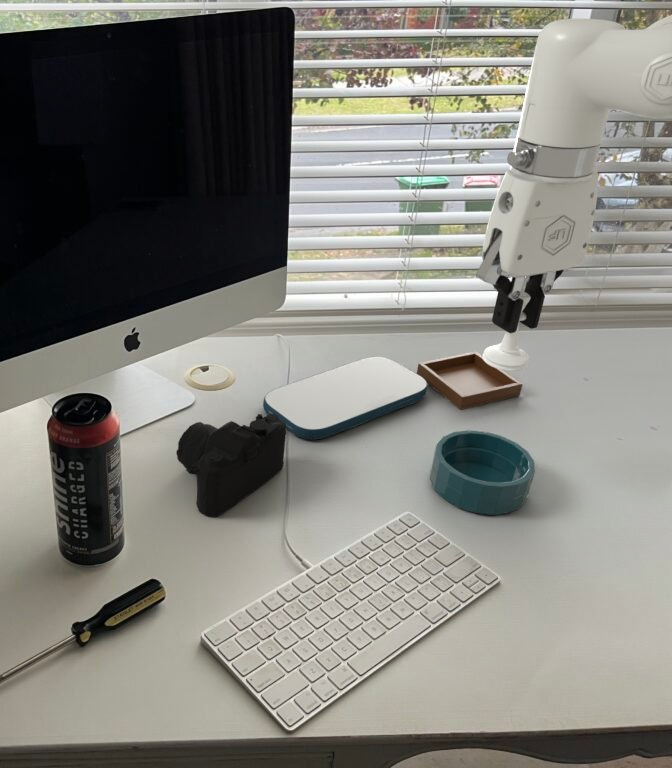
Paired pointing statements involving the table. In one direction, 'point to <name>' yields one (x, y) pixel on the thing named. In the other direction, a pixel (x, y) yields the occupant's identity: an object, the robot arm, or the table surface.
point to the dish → (482, 472)
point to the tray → (468, 380)
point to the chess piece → (509, 346)
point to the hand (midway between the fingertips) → (514, 324)
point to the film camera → (232, 460)
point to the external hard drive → (344, 397)
